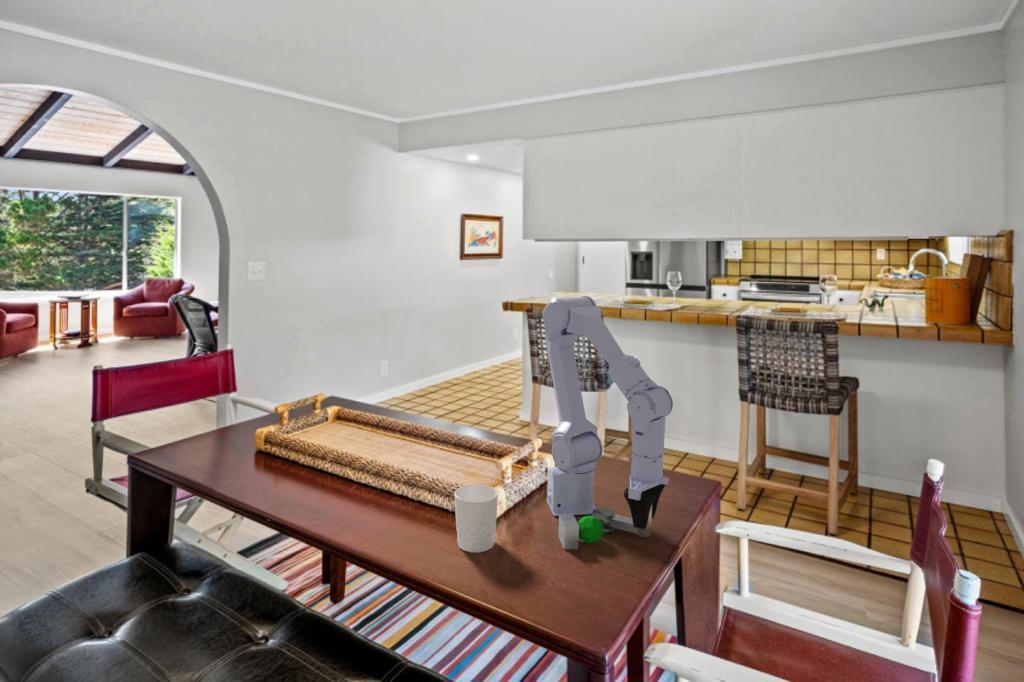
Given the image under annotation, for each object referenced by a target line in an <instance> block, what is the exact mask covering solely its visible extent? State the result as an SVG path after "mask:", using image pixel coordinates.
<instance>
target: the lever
mask: <svg viewBox="0 0 1024 682" xmlns="http://www.w3.org/2000/svg"><path fill="white" fill-rule="evenodd" d="M596 508H597V509H594V510H593V511H592V514H591V516H593V517H595V518H596V519H598V520H599V521H601V523H602V525H603V528H609V527H614V528H615V529H619V530H621V531H626V532H629V533H633V534H636V535H637V536H639V537H645V538H646V537H650V536H651V535H652V533H651V532H652V519H653V518H652V506H651V509H650V513H649V518H648V523H647V526H646V528H645V529H640V528H636V527H634V525H633V520H632V517H628V516H624V515H621V514H617V513H616V512H615V511H614V510H612V509H610V508H606V507H599V508H598V507H596Z"/></svg>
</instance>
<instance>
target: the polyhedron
mask: <svg viewBox="0 0 1024 682" xmlns="http://www.w3.org/2000/svg"><path fill="white" fill-rule="evenodd" d="M577 523H578V525H579V539H580V540H581V541H583V542H584V543H586V544H596V543H598V542H599V541H600V540H601V539H602V538H603V535H604V534H603V525H602V523H601V521H599V520H598V519H596V518H595V517H593V516H592V515H585V516H582V517H581V518H580V519H579V520H578V521H577Z"/></svg>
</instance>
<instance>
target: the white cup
mask: <svg viewBox="0 0 1024 682" xmlns="http://www.w3.org/2000/svg"><path fill="white" fill-rule="evenodd" d="M498 500H499V491H498V489H496V488H495V487H492V486H491V485H487V484H481V483H479V484H467V485H464V486H460V487H459V488H456V490H455V491H454V507H455V508H454V509H455V510H454V513H455V526H456V527H455V528H456V533H457V535H456V537H457V545H458V548H459V549H461V550H462V551H465V552H467V553H468V552H469V553H484V552H487V551H489V550H490V549H493V547H494V545H495V542H496V541H495V540H496V529H497V528H496V527H497V518H498V502H499V501H498Z"/></svg>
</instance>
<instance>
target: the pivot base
mask: <svg viewBox="0 0 1024 682" xmlns="http://www.w3.org/2000/svg"><path fill="white" fill-rule="evenodd" d="M615 531H616V528H614V527H609V528H603V534H602V535H611V534H613V533H615Z"/></svg>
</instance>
